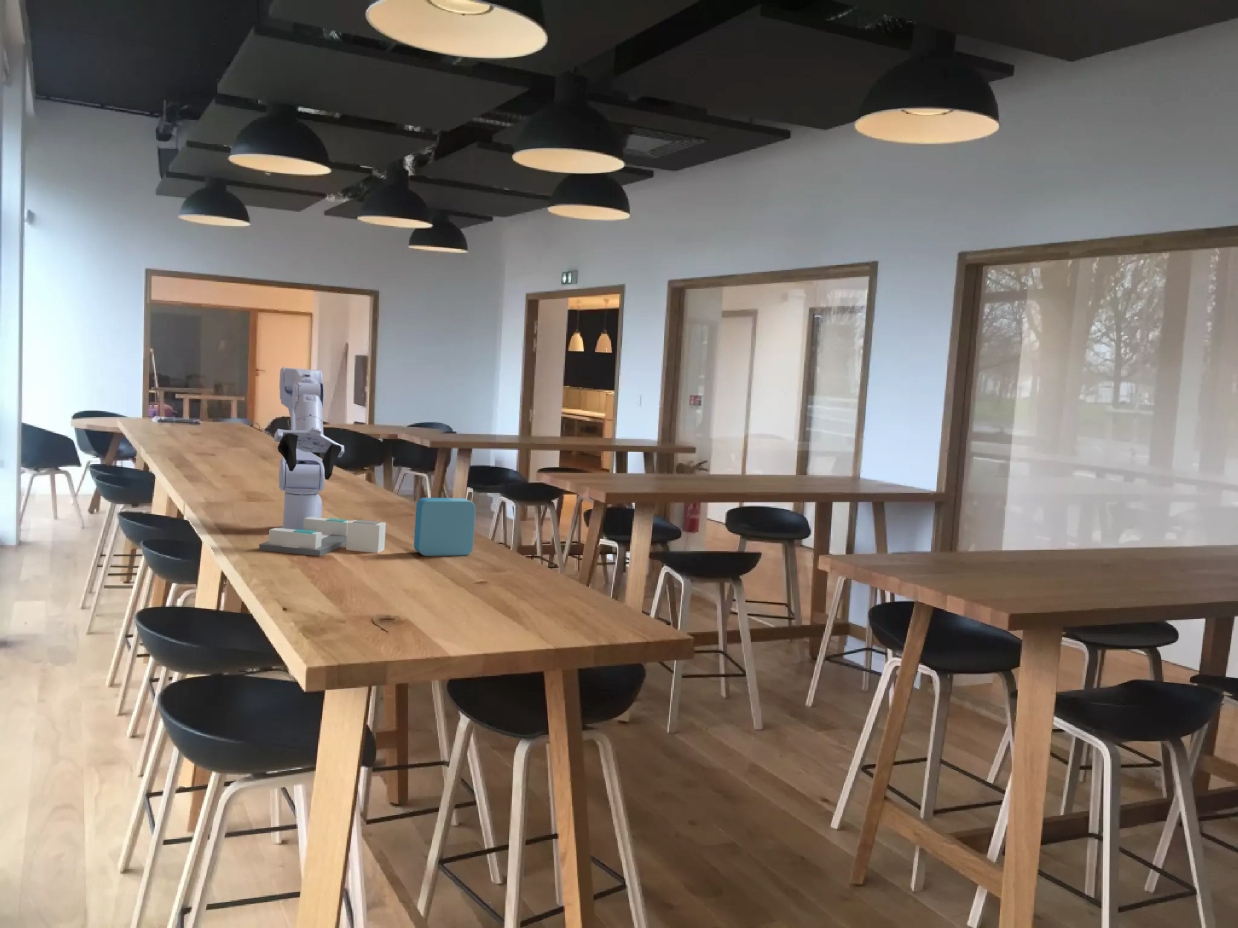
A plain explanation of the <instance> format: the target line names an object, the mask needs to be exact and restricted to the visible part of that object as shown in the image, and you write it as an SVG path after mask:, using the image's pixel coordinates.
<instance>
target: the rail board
mask: <svg viewBox="0 0 1238 928" xmlns="http://www.w3.org/2000/svg"><path fill="white" fill-rule="evenodd" d="M350 521H351V520H348V519H342V518H341V519H339V518H332V517H331V518H324V517H321V518H317V517H307V518H304V528H303V529H302V530H294V529H284V528H280V527H274V528H271V529H268V540H267V541H265V542H262V543H259V544H258V551H266V552H274V553H276V552H277V553H284V554H285V553H287V554H293V555H294V554H295V555H305V556H314V557H315V556H316V557H321V556H323V555H326V554H328V553H331V552H334V551H335V550H338V549H340V548H342V547H345V546H346V543H347V525H348V522H350Z"/></svg>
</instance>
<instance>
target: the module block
mask: <svg viewBox="0 0 1238 928" xmlns="http://www.w3.org/2000/svg"><path fill="white" fill-rule="evenodd" d="M349 521H350V522H348V525H347V543H346V545H345V546H346V547H345V550H347V551H354V552H364V553H373V554H379V553H381V552H384V551H385V546H386V545H385V543H386V526H387V522H381V521H373V520H365V519H354V520H349Z"/></svg>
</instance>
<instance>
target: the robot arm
mask: <svg viewBox="0 0 1238 928" xmlns="http://www.w3.org/2000/svg"><path fill="white" fill-rule="evenodd" d="M323 378H324V377H323V371H322V370H321V369H308V368H307V369H305V368H294V367H286V366H282V367H281V368H280V373H279V386H278V387H279V400H280V403H281V405H282V406H284V407H286V408H287V410H288V413H289V418H290V429H280V428H277V430H276V431H275V433H274V436H273V437H274V438H273V439H274V442H277V443H278V445H277V452H278V453H279V454H280V455H281V459H280V462H279V473H278V488H279V489H280V491H283V493H284V497H283V498H284V499H283V519H282V521H283V522H282V526H281V527H279V528H284V529H294V530H302V529H303V528H304V518H307V517H317V518H322V515H323V514H322V511H323V500H322V498H321V496H320V495H319V492H322V491H323V490H324V489H325V481H328V480H330V478H331V477H332V475H333V470H334V467H335V463H336V461H337V459H338V458H341V457H343V454H344V453H345V445H343V444H339V443H337V442H336V441H335V440H332V439H331V438H330V437H327V436H325V435H324V420H323V419H324V418H323V407H324V404H325V403H324V402H325V387H324V383H323V381H324V380H323ZM314 453H325V454H324V457H323V458H321V457H319V456H318V455H316V454H314Z"/></svg>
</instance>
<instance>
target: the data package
mask: <svg viewBox="0 0 1238 928" xmlns="http://www.w3.org/2000/svg"><path fill="white" fill-rule="evenodd" d="M414 522H415V523H414V538H413V548H414V549H415V551H416V552H417V553H419V554H420V555H422V556H423V557H440V556H441V557H444V556H447V557H450V556H451V557H452V556H453V557H454V556H459V557H460V556H469V555H470V554H471V553H472V552H473V549H474V538H475V537H474V535H475V524H476V523H475V522H476V505H475V503H474V502H473V501H471V500H469V499H467V498H464V497H463V498H462V497H453V498H452V497H422V498H420V499H418V501H417V502H416V507H415V521H414Z"/></svg>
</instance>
